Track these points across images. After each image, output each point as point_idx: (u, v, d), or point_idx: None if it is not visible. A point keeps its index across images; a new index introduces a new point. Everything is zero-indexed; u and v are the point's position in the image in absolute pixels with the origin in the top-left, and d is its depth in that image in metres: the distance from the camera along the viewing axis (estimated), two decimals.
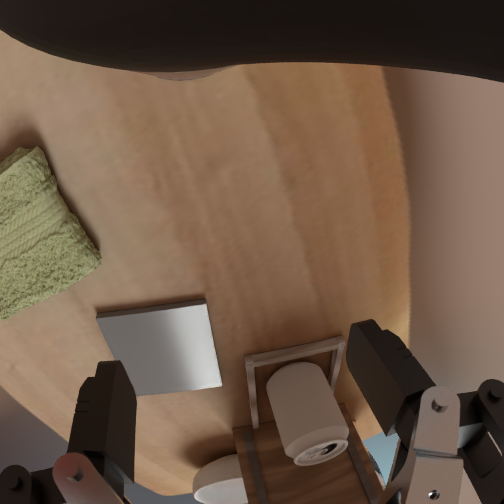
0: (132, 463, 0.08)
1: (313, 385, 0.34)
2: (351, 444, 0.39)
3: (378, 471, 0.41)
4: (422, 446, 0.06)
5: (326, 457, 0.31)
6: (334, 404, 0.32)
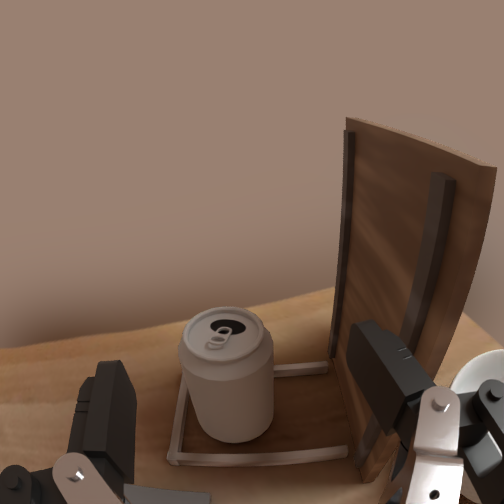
0: (132, 463, 0.08)
1: None
2: (334, 306, 0.32)
3: None
4: (422, 446, 0.06)
5: (255, 323, 0.25)
6: None
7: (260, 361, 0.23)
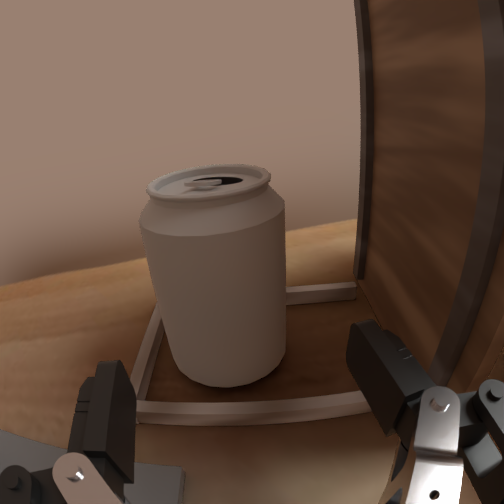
0: (132, 463, 0.08)
1: None
2: (360, 198, 0.24)
3: None
4: (422, 446, 0.06)
5: (257, 174, 0.17)
6: None
7: (266, 212, 0.14)
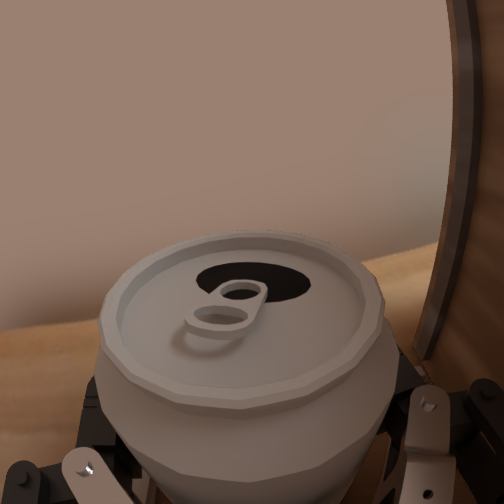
0: None
1: None
2: (445, 259, 0.15)
3: None
4: (413, 446, 0.06)
5: (339, 268, 0.08)
6: None
7: (380, 390, 0.06)
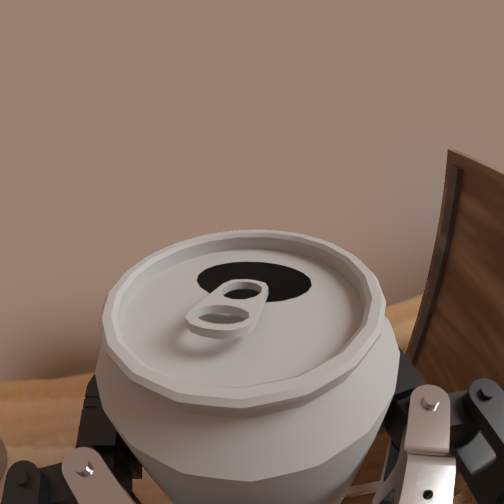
0: None
1: None
2: (416, 334, 0.29)
3: None
4: (413, 446, 0.06)
5: (340, 267, 0.08)
6: None
7: (381, 389, 0.06)
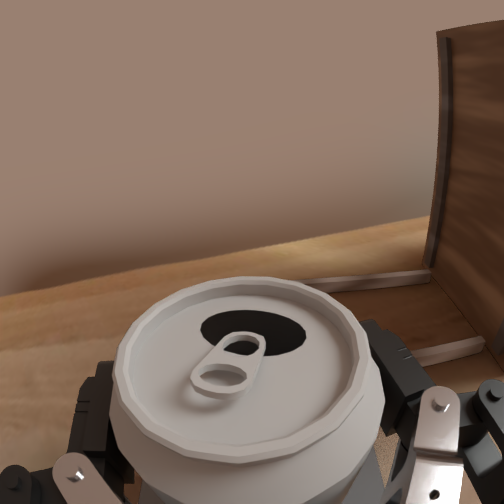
0: None
1: None
2: (436, 205, 0.29)
3: None
4: (422, 446, 0.06)
5: (334, 320, 0.08)
6: None
7: (362, 438, 0.06)
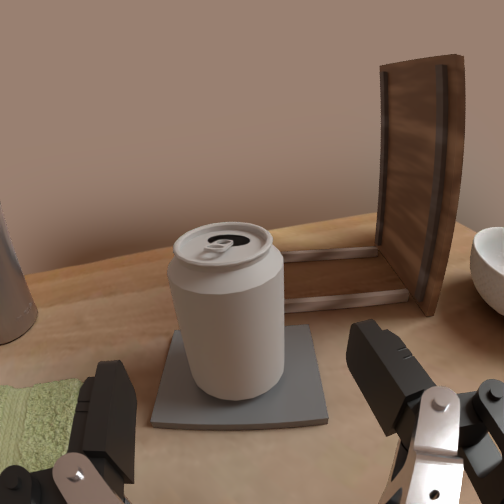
0: (132, 463, 0.08)
1: None
2: (379, 197, 0.41)
3: None
4: (422, 446, 0.06)
5: (262, 235, 0.21)
6: None
7: (267, 273, 0.19)
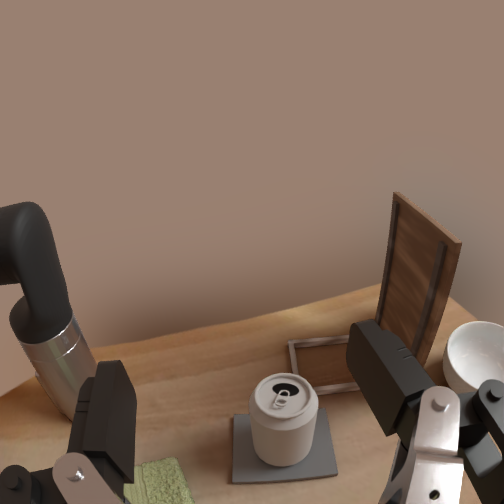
0: (132, 463, 0.08)
1: None
2: (380, 297, 0.53)
3: None
4: (422, 446, 0.06)
5: (306, 386, 0.32)
6: None
7: (311, 415, 0.30)
